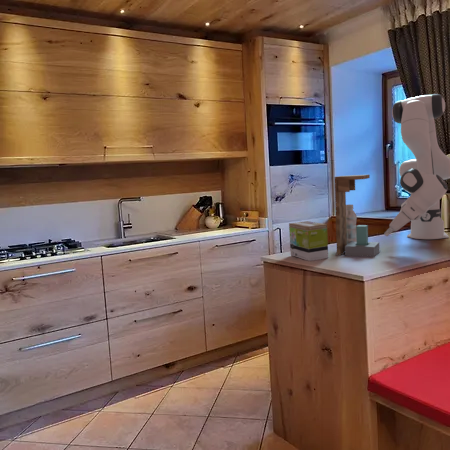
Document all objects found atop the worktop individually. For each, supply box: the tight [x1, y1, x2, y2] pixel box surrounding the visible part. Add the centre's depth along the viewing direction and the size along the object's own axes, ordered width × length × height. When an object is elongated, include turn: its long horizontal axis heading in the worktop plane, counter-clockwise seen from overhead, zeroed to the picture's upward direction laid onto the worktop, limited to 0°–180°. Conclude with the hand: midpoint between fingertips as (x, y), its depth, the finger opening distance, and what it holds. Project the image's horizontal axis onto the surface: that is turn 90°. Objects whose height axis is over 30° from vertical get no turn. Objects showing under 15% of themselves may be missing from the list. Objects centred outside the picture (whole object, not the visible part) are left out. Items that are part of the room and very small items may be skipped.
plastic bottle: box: [346, 204, 358, 244], centre depth 210 cm, size 6×7×20 cm
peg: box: [356, 224, 369, 245], centre depth 196 cm, size 4×4×12 cm
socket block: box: [344, 241, 381, 257], centre depth 196 cm, size 12×12×4 cm
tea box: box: [288, 220, 329, 262], centre depth 195 cm, size 15×10×15 cm
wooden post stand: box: [334, 174, 371, 256], centre depth 196 cm, size 12×12×34 cm
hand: (387, 233), depth 191 cm, fingers open, 8 cm apart
